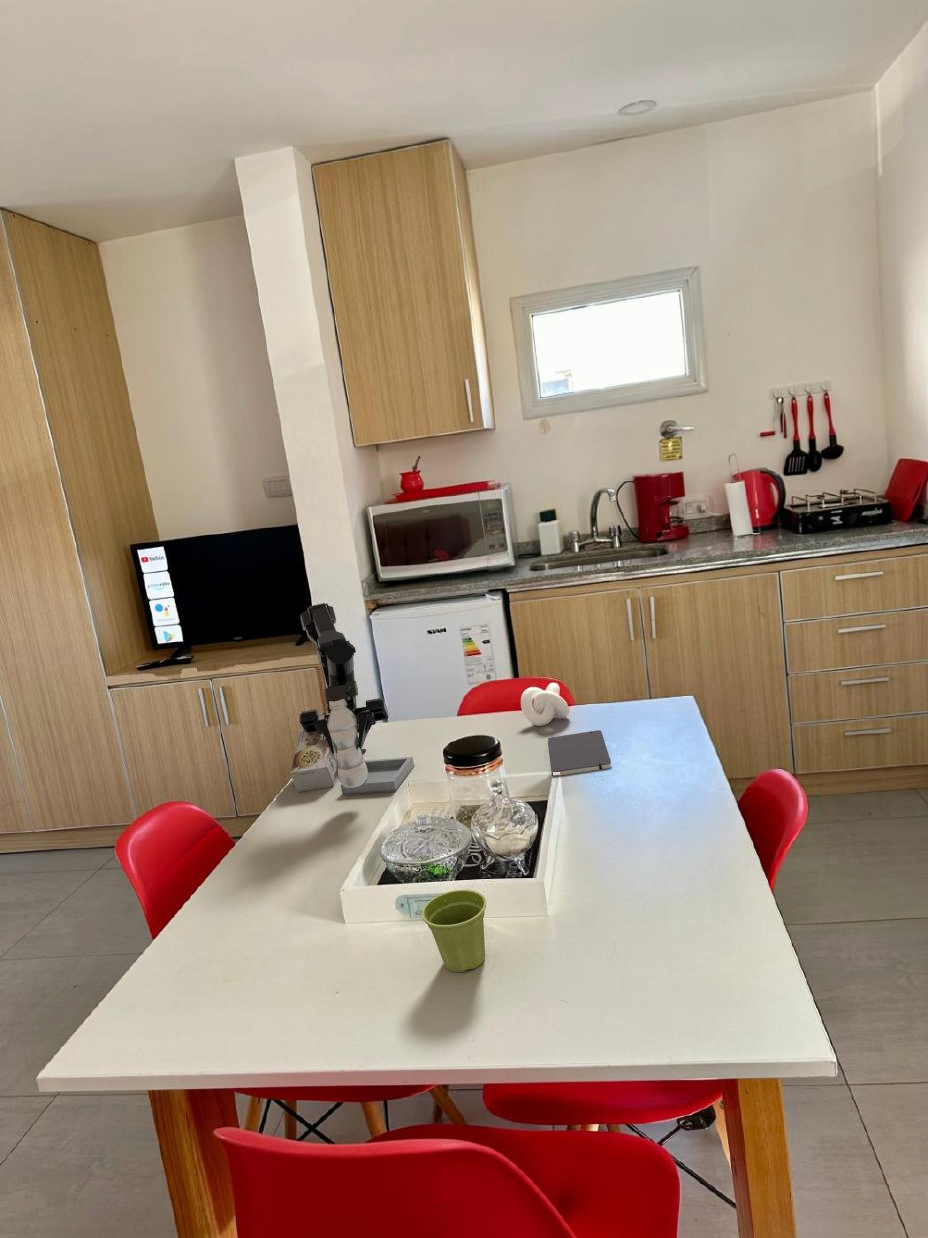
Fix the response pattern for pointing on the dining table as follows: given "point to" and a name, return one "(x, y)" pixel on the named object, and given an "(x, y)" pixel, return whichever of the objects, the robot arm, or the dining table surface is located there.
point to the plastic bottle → (346, 745)
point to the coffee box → (313, 762)
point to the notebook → (578, 752)
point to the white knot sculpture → (543, 705)
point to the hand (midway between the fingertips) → (346, 750)
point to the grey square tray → (383, 776)
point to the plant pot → (458, 928)
